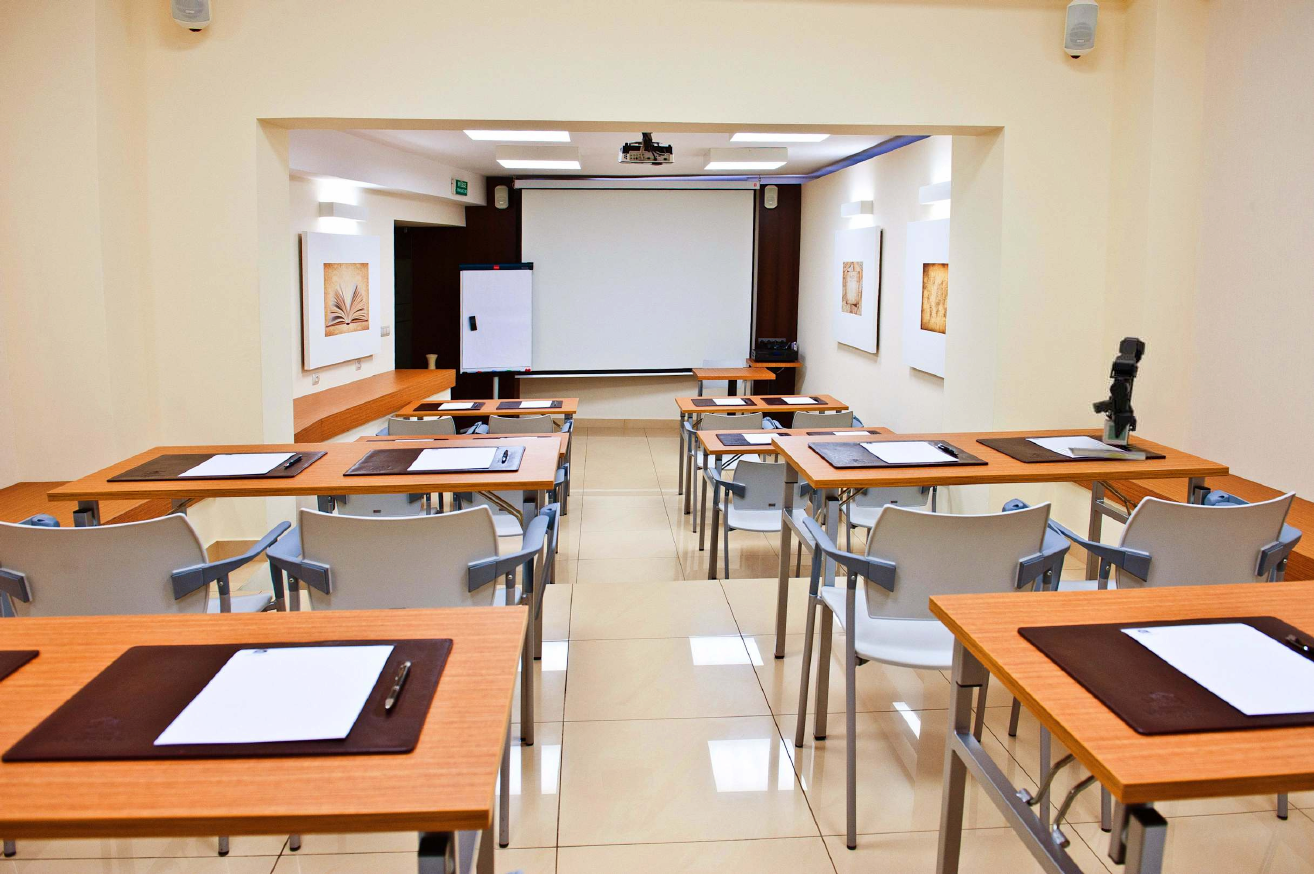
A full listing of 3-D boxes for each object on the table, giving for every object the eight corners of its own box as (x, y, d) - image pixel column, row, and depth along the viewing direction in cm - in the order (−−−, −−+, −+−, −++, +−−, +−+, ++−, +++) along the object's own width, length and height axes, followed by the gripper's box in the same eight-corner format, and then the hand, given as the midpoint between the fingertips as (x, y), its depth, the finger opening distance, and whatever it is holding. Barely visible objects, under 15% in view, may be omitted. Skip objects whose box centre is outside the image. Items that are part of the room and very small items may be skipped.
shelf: (1067, 449, 339) (1068, 441, 338) (1135, 454, 333) (1136, 446, 332) (1074, 457, 326) (1075, 448, 325) (1144, 462, 320) (1145, 454, 320)
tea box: (1102, 440, 331) (1104, 419, 330) (1123, 442, 330) (1126, 420, 328) (1105, 443, 326) (1107, 421, 325) (1126, 445, 325) (1129, 423, 323)
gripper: (1091, 388, 335) (1085, 430, 338) (1101, 396, 317) (1095, 440, 321) (1124, 390, 332) (1118, 432, 336) (1136, 398, 315) (1130, 442, 318)
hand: (1115, 436), depth 328 cm, fingers closed on tea box, 5 cm apart
